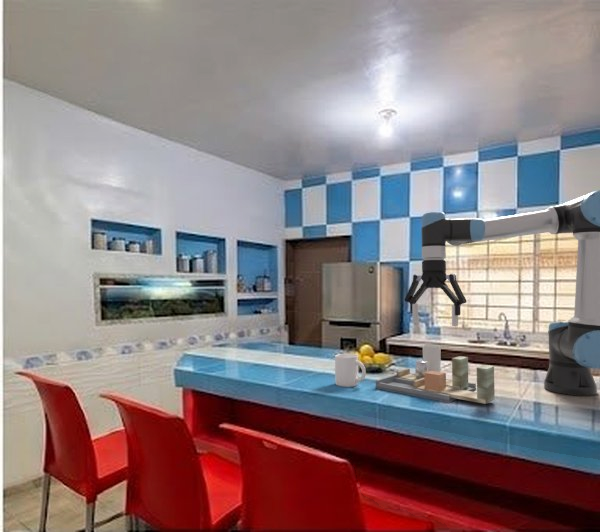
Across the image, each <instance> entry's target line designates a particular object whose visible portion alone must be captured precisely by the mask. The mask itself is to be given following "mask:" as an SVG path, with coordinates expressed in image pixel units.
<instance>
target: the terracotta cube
mask: <svg viewBox="0 0 600 532" xmlns="http://www.w3.org/2000/svg"><path fill="white" fill-rule="evenodd" d="M446 376H447V372H443V371H440V372H438V371H429V372H426V373H424V380H425V389H431V390H436V391H441V390H443V389H445V388H446V379H447V377H446Z"/></svg>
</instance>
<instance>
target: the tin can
mask: <svg viewBox="0 0 600 532" xmlns="http://www.w3.org/2000/svg"><path fill="white" fill-rule="evenodd" d="M414 362H415V364H414V366H415V372H414V374H416V379H421V378H424V373H426V372H428V361H423V360H415V361H414Z"/></svg>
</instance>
